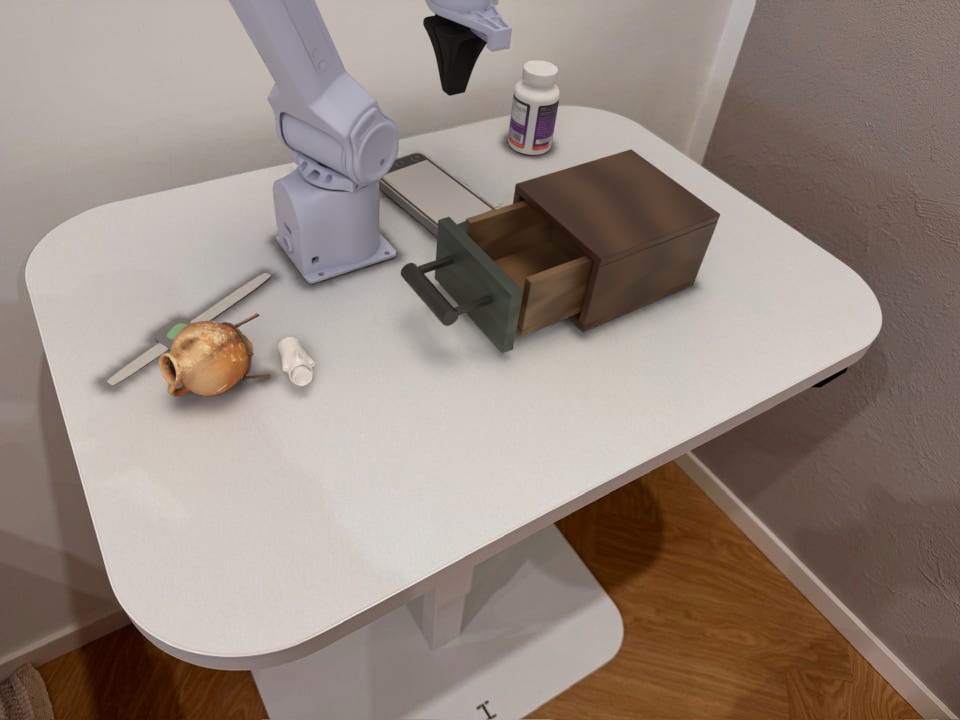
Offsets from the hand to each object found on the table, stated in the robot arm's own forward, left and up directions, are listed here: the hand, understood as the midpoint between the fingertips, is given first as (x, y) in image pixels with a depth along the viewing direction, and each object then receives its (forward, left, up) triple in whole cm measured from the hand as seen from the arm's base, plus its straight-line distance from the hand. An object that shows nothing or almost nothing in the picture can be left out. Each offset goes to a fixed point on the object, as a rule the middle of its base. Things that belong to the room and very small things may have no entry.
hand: (453, 91), depth 77 cm
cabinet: (+5, -21, -10) cm, 24 cm away
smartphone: (-4, -3, -10) cm, 12 cm away
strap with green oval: (-33, -9, -10) cm, 35 cm away
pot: (-34, -15, -10) cm, 38 cm away
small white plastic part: (-27, -19, -11) cm, 35 cm away
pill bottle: (+13, +2, -11) cm, 17 cm away
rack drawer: (-7, -21, -10) cm, 24 cm away
